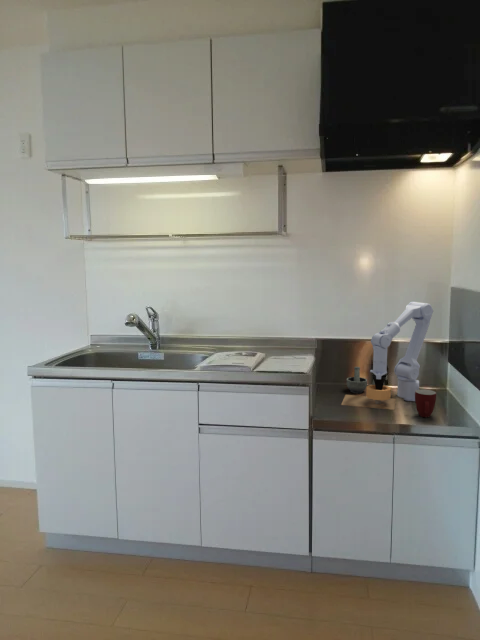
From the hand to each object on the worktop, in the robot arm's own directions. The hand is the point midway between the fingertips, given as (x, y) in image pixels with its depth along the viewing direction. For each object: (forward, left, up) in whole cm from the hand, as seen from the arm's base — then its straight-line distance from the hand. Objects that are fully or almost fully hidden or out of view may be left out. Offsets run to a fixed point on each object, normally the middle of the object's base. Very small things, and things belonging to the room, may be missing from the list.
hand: (379, 391), depth 221 cm
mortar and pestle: (+11, -13, -6) cm, 18 cm away
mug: (-19, +13, -6) cm, 24 cm away
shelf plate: (+4, +3, -5) cm, 7 cm away
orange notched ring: (0, +4, -1) cm, 4 cm away
